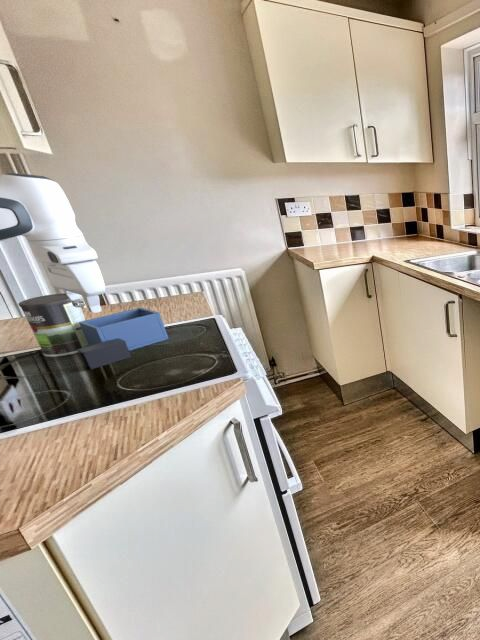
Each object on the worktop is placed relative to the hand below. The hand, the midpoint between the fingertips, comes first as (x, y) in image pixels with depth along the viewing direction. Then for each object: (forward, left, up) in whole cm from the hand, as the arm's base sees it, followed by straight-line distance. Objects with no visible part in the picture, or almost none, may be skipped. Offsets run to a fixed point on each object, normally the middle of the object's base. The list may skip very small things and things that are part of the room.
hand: (87, 309), depth 100 cm
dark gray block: (0, 0, -14) cm, 14 cm away
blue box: (+8, +9, -14) cm, 18 cm away
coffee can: (-2, +19, -14) cm, 24 cm away
